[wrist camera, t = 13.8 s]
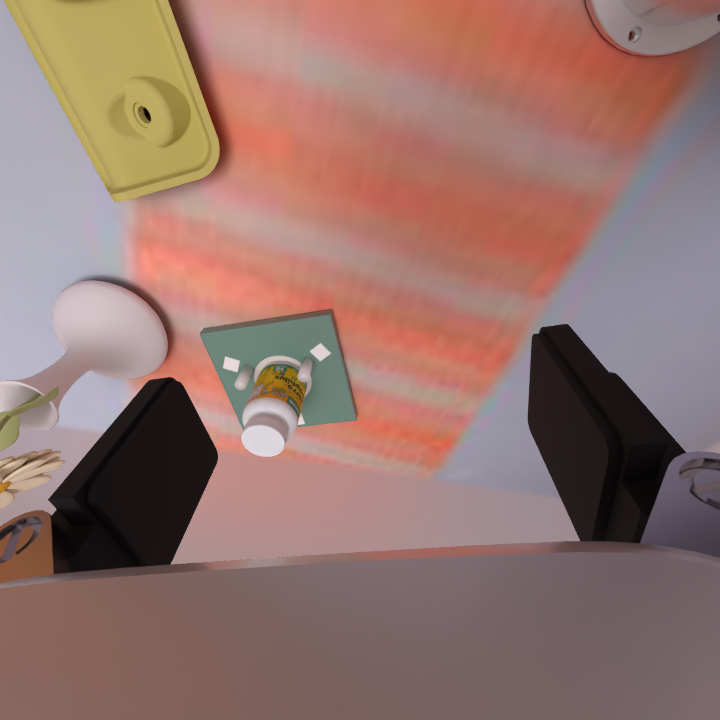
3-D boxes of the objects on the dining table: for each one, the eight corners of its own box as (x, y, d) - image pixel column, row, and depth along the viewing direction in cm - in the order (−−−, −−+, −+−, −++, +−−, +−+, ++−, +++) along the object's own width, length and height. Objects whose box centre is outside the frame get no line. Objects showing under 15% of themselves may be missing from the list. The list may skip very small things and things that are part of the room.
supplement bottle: (250, 379, 44) (221, 440, 36) (279, 350, 42) (255, 409, 34) (288, 406, 46) (268, 470, 38) (318, 380, 44) (304, 442, 36)
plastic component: (229, 170, 32) (100, 208, 30) (218, 161, 38) (108, 192, 35) (80, -245, 20) (-153, -235, 18) (96, -166, 26) (-79, -151, 24)
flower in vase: (115, 380, 47) (-102, 605, 26) (41, 296, 41) (-312, 495, 20) (208, 347, 44) (47, 572, 23) (141, 251, 38) (-152, 431, 17)
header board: (331, 309, 41) (326, 328, 37) (357, 413, 48) (355, 438, 44) (203, 328, 42) (187, 348, 39) (247, 426, 50) (237, 450, 46)
